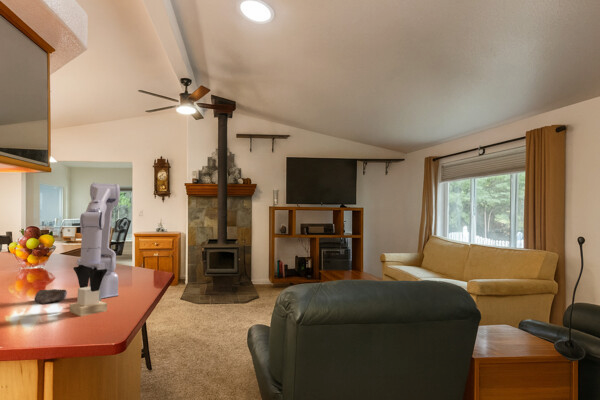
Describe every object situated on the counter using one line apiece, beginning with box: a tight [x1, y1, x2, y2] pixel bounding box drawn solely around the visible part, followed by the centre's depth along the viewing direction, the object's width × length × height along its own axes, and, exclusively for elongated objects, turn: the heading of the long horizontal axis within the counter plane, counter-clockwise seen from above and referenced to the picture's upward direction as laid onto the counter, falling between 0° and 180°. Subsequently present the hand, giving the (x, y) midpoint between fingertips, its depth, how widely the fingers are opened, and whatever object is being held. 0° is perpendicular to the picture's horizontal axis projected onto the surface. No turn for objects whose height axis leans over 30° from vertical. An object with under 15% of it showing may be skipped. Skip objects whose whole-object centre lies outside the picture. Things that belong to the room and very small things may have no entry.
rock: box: [34, 288, 68, 305], centre depth 127 cm, size 9×11×4 cm
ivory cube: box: [76, 286, 99, 306], centre depth 114 cm, size 4×4×5 cm
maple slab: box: [68, 300, 108, 317], centre depth 114 cm, size 8×8×3 cm
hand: (89, 289), depth 115 cm, fingers open, 7 cm apart
